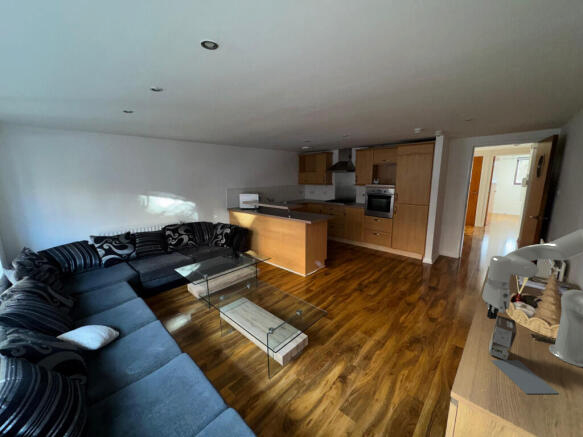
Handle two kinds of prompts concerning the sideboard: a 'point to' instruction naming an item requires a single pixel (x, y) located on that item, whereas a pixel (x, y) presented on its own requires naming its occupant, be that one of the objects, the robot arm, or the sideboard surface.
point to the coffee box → (502, 337)
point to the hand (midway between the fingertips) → (491, 317)
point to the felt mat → (524, 377)
